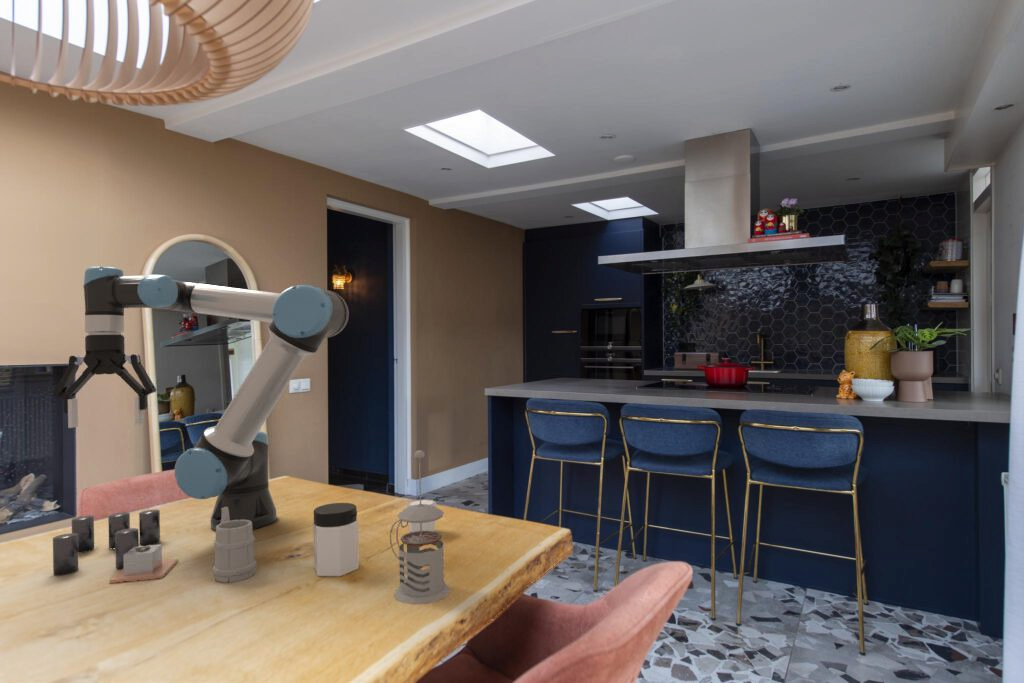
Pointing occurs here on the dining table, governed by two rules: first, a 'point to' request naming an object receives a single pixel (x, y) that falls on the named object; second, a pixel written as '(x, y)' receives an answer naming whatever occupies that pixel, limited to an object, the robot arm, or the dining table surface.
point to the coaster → (156, 574)
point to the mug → (233, 549)
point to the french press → (420, 555)
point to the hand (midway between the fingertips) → (106, 425)
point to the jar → (335, 539)
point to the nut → (142, 560)
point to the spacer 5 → (149, 527)
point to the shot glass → (425, 526)
